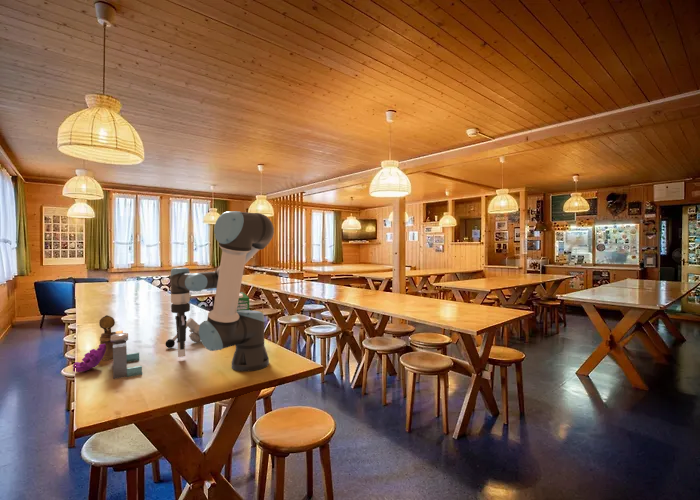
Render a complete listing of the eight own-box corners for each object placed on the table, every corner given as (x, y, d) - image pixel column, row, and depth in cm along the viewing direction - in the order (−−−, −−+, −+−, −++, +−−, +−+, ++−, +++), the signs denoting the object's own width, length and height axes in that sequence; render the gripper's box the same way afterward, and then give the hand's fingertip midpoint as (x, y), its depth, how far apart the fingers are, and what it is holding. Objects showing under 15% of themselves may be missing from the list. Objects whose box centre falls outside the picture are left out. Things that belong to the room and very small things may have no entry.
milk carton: (233, 343, 185) (232, 294, 185) (226, 339, 192) (226, 293, 192) (250, 340, 191) (249, 293, 191) (243, 336, 198) (242, 291, 198)
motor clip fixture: (142, 374, 141) (141, 338, 141) (110, 380, 136) (110, 342, 136) (139, 359, 160) (138, 327, 160) (111, 363, 155) (111, 330, 155)
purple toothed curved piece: (106, 362, 156) (105, 340, 156) (106, 373, 144) (105, 349, 144) (73, 368, 150) (72, 345, 150) (70, 379, 137) (70, 354, 137)
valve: (214, 334, 188) (194, 316, 182) (190, 364, 178) (167, 345, 171) (205, 333, 195) (186, 315, 189) (181, 361, 185) (159, 343, 178)
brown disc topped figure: (118, 351, 173) (117, 313, 173) (122, 357, 163) (122, 318, 163) (95, 354, 168) (95, 316, 167) (98, 362, 157) (98, 321, 157)
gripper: (192, 303, 155) (193, 358, 156) (187, 300, 166) (188, 351, 167) (173, 305, 151) (174, 361, 152) (169, 301, 162) (170, 354, 162)
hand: (181, 356), depth 159 cm, fingers closed
